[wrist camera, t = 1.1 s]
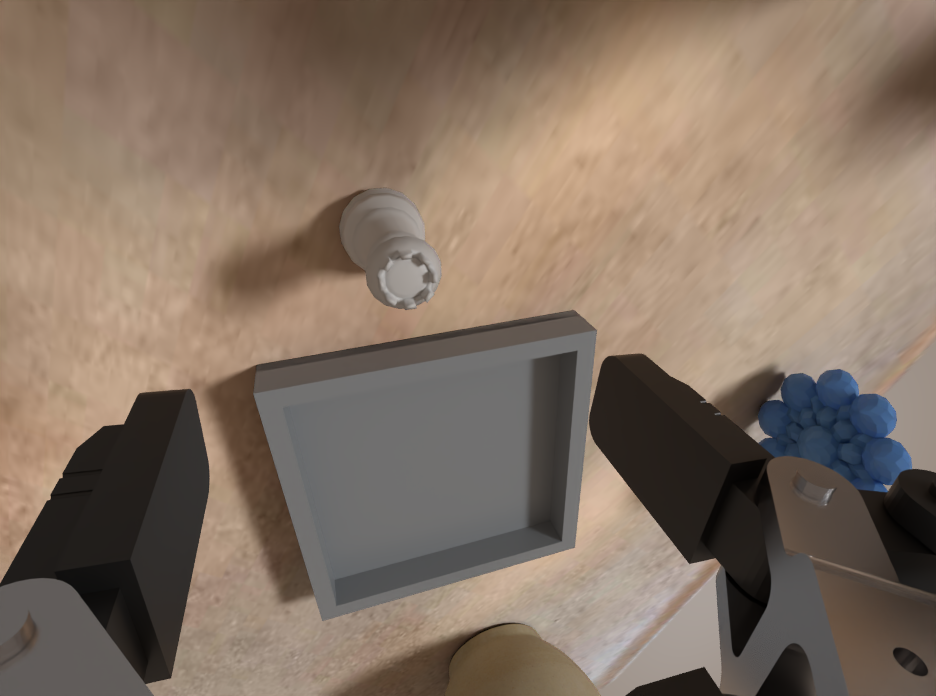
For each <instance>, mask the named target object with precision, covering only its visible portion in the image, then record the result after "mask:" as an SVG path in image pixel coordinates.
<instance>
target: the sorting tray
mask: <svg viewBox="0 0 936 696" xmlns="http://www.w3.org/2000/svg"><path fill="white" fill-rule="evenodd" d="M596 334H597V330H596V329H595V328H594V327H593V326H592V325H590V324H589V323H588V322H587V321H586V320H585V319H584V318H583V317H581V316H580V315H579V314H578V313H577V312H576V311H575V310H572V311H567V312H561V313H555V314H549V315H544V316H538V317H532V318H526V319H520V320H515V321H509V322H503V323H497V324H491V325H486V326H480V327H474V328H468V329H463V330H457V331H451V332H445V333H439V334H434V335H428V336H422V337H416V338H411V339H405V340H399V341H393V342H387V343H382V344H376V345H370V346H364V347H358V348H353V349H347V350H341V351H335V352H330V353H324V354H318V355H312V356H306V357H301V358H295V359H289V360H283V361H278V362H272V363H266V364H260V365H257V367H256V375H255V383H254V392H253V395H254V398H255V401H256V404H257V408H258V411H259V414H260V418H261V421H262V424H263V427H264V431H265V434H266V437H267V441H268V444H269V447H270V450H271V454H272V457H273V460H274V464H275V467H276V470H277V473H278V477H279V480H280V483H281V487H282V490H283V493H284V496H285V500H286V503H287V506H288V510H289V513H290V516H291V519H292V523H293V526H294V529H295V533H296V536H297V539H298V542H299V546H300V549H301V552H302V556H303V559H304V562H305V565H306V569H307V572H308V575H309V579H310V582H311V585H312V588H313V592H314V595H315V598H316V602H317V605H318V608H319V611H320V615H321V618H322V621H324V620H328V619H331V618H335V617H338V616H341V615H345V614H348V613H352V612H355V611H359V610H362V609H366V608H369V607H372V606H376V605H379V604H383V603H386V602H390V601H393V600H396V599H400V598H403V597H407V596H410V595H414V594H417V593H421V592H424V591H427V590H431V589H434V588H438V587H441V586H445V585H448V584H451V583H455V582H458V581H462V580H465V579H469V578H472V577H476V576H479V575H482V574H486V573H489V572H493V571H496V570H500V569H503V568H507V567H510V566H513V565H517V564H520V563H524V562H527V561H531V560H534V559H537V558H541V557H544V556H548V555H551V554H555V553H558V552H562V551H565V550H568V549H572V548H575V540H576V530H577V521H578V511H579V501H580V491H581V481H582V471H583V462H584V452H585V442H586V432H587V422H588V412H589V403H590V393H591V383H592V373H593V363H594V353H595V344H596Z"/></svg>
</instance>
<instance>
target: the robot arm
mask: <svg viewBox="0 0 936 696" xmlns="http://www.w3.org/2000/svg"><path fill="white" fill-rule="evenodd" d="M589 425H590V431H591V435H592V437H593V440H594V442H595V443H596V445H597V446H598V447H599V449H600V450H601V451H602V452H603V454H604V455H605V456H606V458H607V459H608V460H609V461H610V463H611V464H612V465H613V467H614V468H615V469H616V470H617V472H618V473H619V474H620V476H621V477H622V478H623V479H624V481H625V482H626V483H627V484H628V486H629V487H630V488H631V490H632V491H633V492H634V493H635V495H636V496H637V497H638V499H639V500H640V501H641V502H642V504H643V505H644V506H645V508H646V509H647V510H648V511H649V513H650V514H651V515H652V517H653V518H654V519H655V520H656V522H657V523H658V524H659V526H660V527H661V528H662V529H663V531H664V532H665V533H666V535H667V536H668V537H669V538H670V540H671V541H672V542H673V543H674V545H675V546H676V547H677V549H678V550H679V551H680V552H681V554H682V555H683V556H684V558H685V559H686V560H687V561H688V563H689V564H691V563H696V562H700V561H705V560H709V559H714V558H716V559H717V560H718V561H719V563H720V564H721V566H720V568H719V570H718V572H717V575H716V590H717V605H718V621H719V634H720V649H721V666H722V673H721V683H720V688H718V687H717V685H716V684H715V682H714V681H713V679H712V678H711V676H710V675H709V673H708V672H707V670H706V669H705V667H703V668H700V669H696V670H692V671H689V672H686V673H682V674H679V675H676V676H672V677H669V678H666V679H662V680H659V681H656V682H652V683H649V684H646V685H642V686H639V687H636V688H635V689H634V690H633V691H631V692H630V693H628V694H627V695H626V696H936V473H934V472H931V471H926V470H919V469H908V470H904V471H902V472H900V474H899V475H898V477H897V478H896V480H895V481H894V483H893V485H892V486H891V488H890V489H889V491H888V492H879V491H870V490H860V489H856V488H855V487H854V486H853V485H852V484H851V483H850V482H849V481H848V480H847V479H845V478H844V477H843V476H841V475H840V474H838V473H837V472H835V471H833V470H831V469H830V468H828V467H826V466H823V465H821V464H819V463H816V462H814V461H811V460H807V459H804V458H799V457H793V456H781V457H776V458H775V457H774V456H773V455H772V454H770V453H769V452H768V451H767V450H766V449H764V448H763V447H762V446H761V445H760V444H758V443H757V442H756V441H755V440H754V439H752V438H751V437H750V436H749V435H748V434H746V433H745V432H744V431H743V430H742V429H740V428H739V427H738V426H737V425H735V424H734V423H733V422H732V421H731V420H729V419H728V418H727V417H726V416H725V415H723V416H721V412H720V411H719V410H717V409H716V408H715V407H714V406H713V405H711V404H710V403H706V400H705V399H704V398H703V397H702V396H701V395H699V394H698V393H697V392H696V391H695V390H693V389H692V388H691V387H690V386H688V385H687V384H685V383H683V382H681V381H679V380H677V379H675V378H673V377H671V376H669V375H668V374H667V373H666V372H665V371H663V370H662V369H661V368H660V367H659V366H658V365H656V364H655V363H654V362H653V361H652V360H650V359H649V358H648V357H647V356H645V355H644V354H628V355H615V356H608V357H607V358H605V360H604V361H603V363H602V365H601V369H600V373H599V377H598V382H597V386H596V390H595V395H594V399H593V403H592V407H591V412H590V417H589ZM208 493H209V463H208V457H207V452H206V447H205V442H204V438H203V433H202V428H201V423H200V418H199V414H198V409H197V404H196V400H195V396H194V394H193V392H192V390H191V389H182V390H170V391H158V392H145V393H140V394H139V395H138V396H137V398H136V400H135V402H134V404H133V406H132V409H131V411H130V413H129V415H128V417H127V419H126V421H125V423H124V424H122V425H112V426H103V427H102V428H101V429H100V430H99V431H97V432H96V433H95V434H94V435H93V436H91V437H90V438H89V439H88V440H86V441H85V442H84V443H83V444H82V445H80V446H79V447H78V448H77V449H76V451H75V452H74V454H73V456H72V458H71V459H70V461H69V463H68V465H67V467H66V468H65V470H64V472H63V478H61V479H59V481H58V482H57V484H56V486H55V488H54V489H53V491H52V493H51V499H50V500H47V502H46V504H45V505H44V507H43V509H42V511H41V512H40V514H39V516H38V518H37V519H36V521H35V523H34V525H33V527H32V528H31V530H30V532H29V534H28V535H27V537H26V539H25V541H24V542H23V544H22V546H21V548H20V549H19V551H18V553H17V555H16V557H15V558H14V560H13V562H12V564H11V565H10V567H9V569H8V571H7V572H6V574H5V576H4V578H3V580H2V581H1V583H0V696H154V695H153V694H152V693H151V691H150V690H149V688H148V687H147V686H146V684H147V683H152V682H156V681H161V680H165V679H170V678H171V676H172V671H173V666H174V661H175V656H176V651H177V646H178V642H179V637H180V632H181V627H182V622H183V617H184V612H185V607H186V602H187V597H188V592H189V587H190V582H191V578H192V573H193V568H194V563H195V558H196V553H197V548H198V543H199V538H200V533H201V528H202V523H203V519H204V514H205V509H206V504H207V499H208Z"/></svg>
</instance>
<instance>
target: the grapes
mask: <svg viewBox="0 0 936 696" xmlns="http://www.w3.org/2000/svg"><path fill="white" fill-rule="evenodd" d="M780 390H781V396H782V399H783V401H784V402H782V401H780V400H771V401H767V402H765V403H764V404H763V405H762V406H761V408H760V411H759V413H758V420H759V424H760V427H761V429H762V430H763V431H764V433H765V434H767V435H769V436H771V437H773V438H764V439H763V440H762V441H761V442H759V444H760V445H761V446H762V447H763V448H764V449H766V450H767V451H768V452H769V453H770V454H772V455H773V456H774V457H775V458H776V457H781V456H793V457H799V458H804V459H807V460H811V461H814V462H816V463H819V464H821V465H823V466H826V467H828V468H830V469H831V470H833V471H835V472H837V473H838V474H840V475H841V476H843V477H844V478H845V479H847V480H848V481H849V482H850V483H851V484H852V485H853V486H854V487H855V488H856V489H860V490H870V491H879V492H888V491H887V489H886V488H885V487H884V485H883V484H885V485H893V483H894V481H895V480H896V478H897V477H898V475H899V474H900V472H902V471H904V470H908V469H912V462H911V457H910V455H909V454H908V452H907V451H906V450H905V448H904V447H903V446H902V445H901V443H899V442H897V441H895V440H892V439H890V438H884V437H886V436H887V435H888V434H890V433H891V432H892V431H893V429H894V428H895V426H896V421H897V418H896V411H895V410H894V408H893V407H892V405H891V404H890V403H889V402H888V400H887V399H886V398H884V397H882V396H880V395H878V394H862V395H859V389H858V384H857V383H856V381H855V380H854V379H853V377H852V376H851V375H850V373H848V372H845V371H843V370H841V369H837V370H828V371H825V372H824V373H823V374H822V375H820V377H819V379H818V381H817V384H816V383H815V381H814V380H813V379H812V377H810V376H808V375H806V374H803V373H800V374H791V375H790V376H788V377H787V378H786V379H785V380H784V382H783V384H782V387H781V389H780ZM858 395H859V396H858Z"/></svg>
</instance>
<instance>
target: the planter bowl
mask: <svg viewBox="0 0 936 696" xmlns="http://www.w3.org/2000/svg"><path fill="white" fill-rule="evenodd" d="M449 679H450V681H449V684H448V686H447V689H446V692H445V695H444V696H601V695H600V694H599V692H598V690H597V689H596V687H595V686H594V684H593V683H592V682H591V680H590V679H589V678H588V676H587V675H586V674H585V673H584V672H583V671H582V670H581V669H580V668H579V667H578V666H577V664H576V663H574V662H573V661H572V660H571V659H570V658H569V657H568V656H567V655H566V654H564V653H563V652H562V651H560V650H559V649H557V648H556V647H554V646H553V645H551V644H550V643H548V642H546V641H544V640H542V639H541V637H540V636H539V634H538V633H537V632H536V630H534V629H533V628H532V627H530V626H527V625H523V624H507V625H502V626H498V627H495V628H492V629H489V630H487V631H484V632H481V633H480V634H478V635H477V636H475V637H474V638H472V639H471V640H469V641H468V642H466V643H465V644H464V645H463V646H462V647H461V648H460V649H459V650H458V651H457V652H456V654H455V655H454V656H453V658H452V660H451V662H450V666H449Z"/></svg>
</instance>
